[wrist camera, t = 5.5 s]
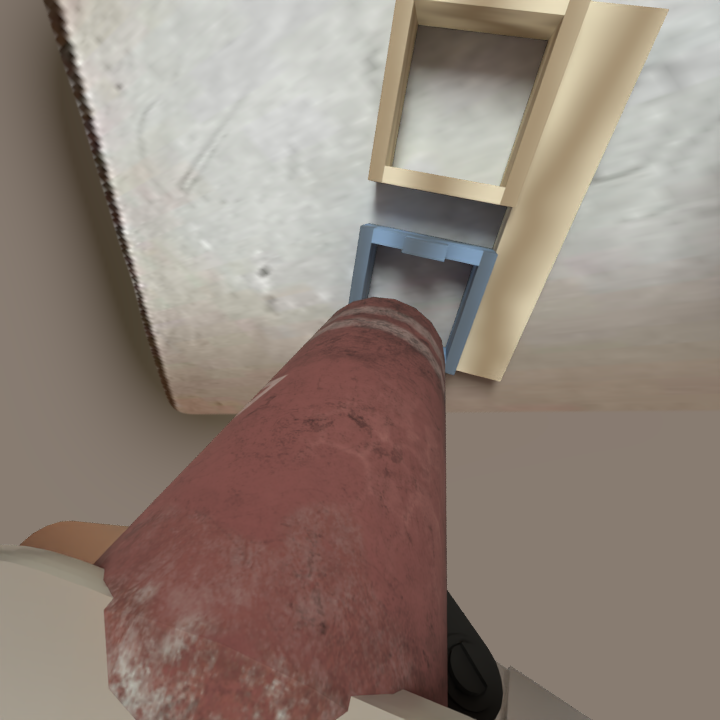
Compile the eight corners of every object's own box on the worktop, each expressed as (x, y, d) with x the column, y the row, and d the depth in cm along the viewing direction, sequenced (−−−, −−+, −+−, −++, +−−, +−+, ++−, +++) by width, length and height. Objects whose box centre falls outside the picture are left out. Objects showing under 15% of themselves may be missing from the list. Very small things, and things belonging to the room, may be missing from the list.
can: (366, 423, 18) (203, 888, 6) (301, 330, 16) (-119, 712, 4) (468, 384, 15) (560, 1063, 3) (404, 269, 14) (111, 791, 2)
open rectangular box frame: (647, 27, 18) (703, -21, 14) (496, 370, 29) (505, 397, 25) (406, 1, 20) (396, -49, 16) (350, 333, 31) (336, 352, 27)
